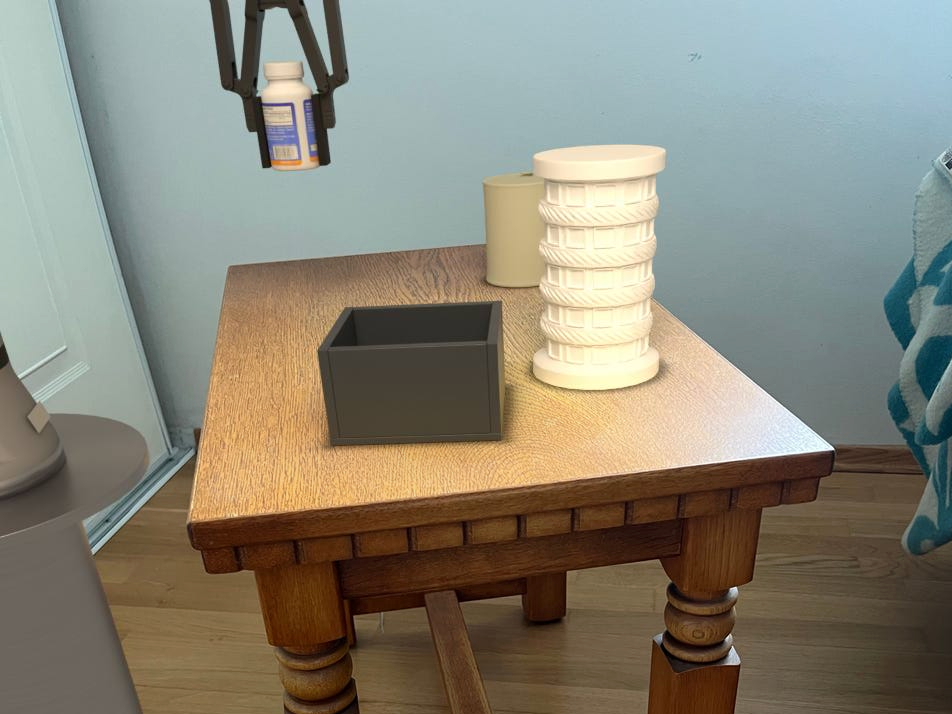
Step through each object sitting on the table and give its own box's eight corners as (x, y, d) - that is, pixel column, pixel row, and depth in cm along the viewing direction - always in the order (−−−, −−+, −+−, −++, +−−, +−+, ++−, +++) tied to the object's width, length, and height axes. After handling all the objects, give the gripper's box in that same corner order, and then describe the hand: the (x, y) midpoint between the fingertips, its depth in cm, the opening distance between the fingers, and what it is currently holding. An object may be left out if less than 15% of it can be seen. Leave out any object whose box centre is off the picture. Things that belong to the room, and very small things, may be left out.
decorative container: (669, 386, 82) (683, 157, 72) (537, 393, 82) (533, 165, 72) (647, 347, 92) (657, 140, 82) (529, 354, 92) (525, 148, 82)
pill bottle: (308, 163, 104) (295, 60, 98) (331, 167, 100) (318, 60, 95) (263, 169, 101) (247, 63, 96) (284, 173, 97) (269, 63, 92)
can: (566, 271, 121) (566, 167, 114) (549, 288, 114) (548, 179, 107) (498, 269, 124) (494, 169, 117) (477, 286, 116) (471, 180, 110)
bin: (331, 445, 75) (316, 350, 70) (355, 393, 85) (344, 307, 81) (501, 440, 74) (497, 343, 70) (505, 387, 84) (502, 300, 80)
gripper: (363, -112, 90) (386, 157, 103) (175, -101, 91) (221, 165, 104) (351, -122, 84) (377, 166, 97) (150, -110, 85) (202, 173, 98)
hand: (296, 165), depth 100 cm, fingers closed on pill bottle, 5 cm apart
